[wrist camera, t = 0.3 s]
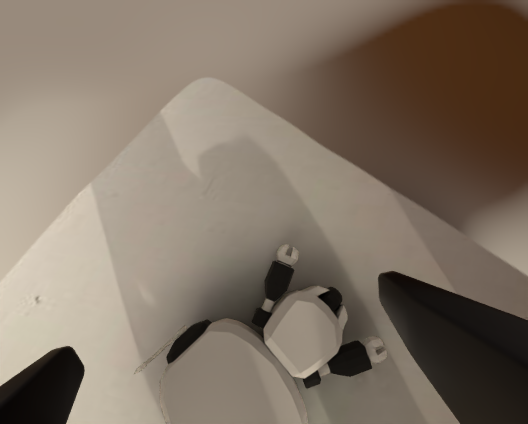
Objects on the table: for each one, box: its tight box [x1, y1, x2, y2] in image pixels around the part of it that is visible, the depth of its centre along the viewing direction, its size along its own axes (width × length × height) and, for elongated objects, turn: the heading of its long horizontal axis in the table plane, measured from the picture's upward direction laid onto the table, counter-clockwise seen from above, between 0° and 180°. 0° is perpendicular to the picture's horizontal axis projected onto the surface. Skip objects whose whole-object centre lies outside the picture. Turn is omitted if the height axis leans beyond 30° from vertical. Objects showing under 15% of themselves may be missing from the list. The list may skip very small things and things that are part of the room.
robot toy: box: [134, 245, 387, 424], centre depth 18 cm, size 12×4×15 cm
